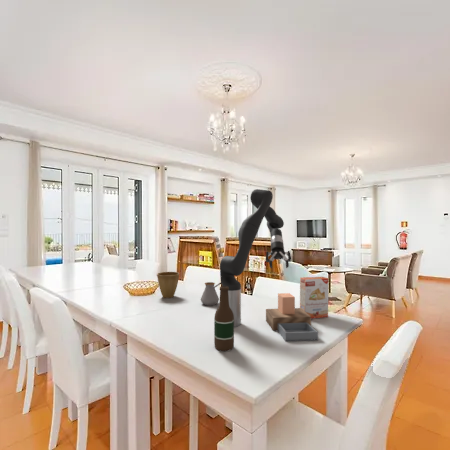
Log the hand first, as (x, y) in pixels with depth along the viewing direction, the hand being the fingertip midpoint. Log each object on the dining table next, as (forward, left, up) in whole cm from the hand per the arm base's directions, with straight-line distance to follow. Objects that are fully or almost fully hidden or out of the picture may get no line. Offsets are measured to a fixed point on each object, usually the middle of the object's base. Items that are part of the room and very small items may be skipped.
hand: (279, 267), depth 161 cm
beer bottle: (-35, -45, -25) cm, 63 cm away
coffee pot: (-34, +22, -25) cm, 48 cm away
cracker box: (+16, -11, -25) cm, 32 cm away
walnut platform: (-2, -22, -25) cm, 33 cm away
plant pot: (-66, +40, -25) cm, 81 cm away
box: (-2, -36, -25) cm, 44 cm away
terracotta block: (-2, -20, -19) cm, 28 cm away
